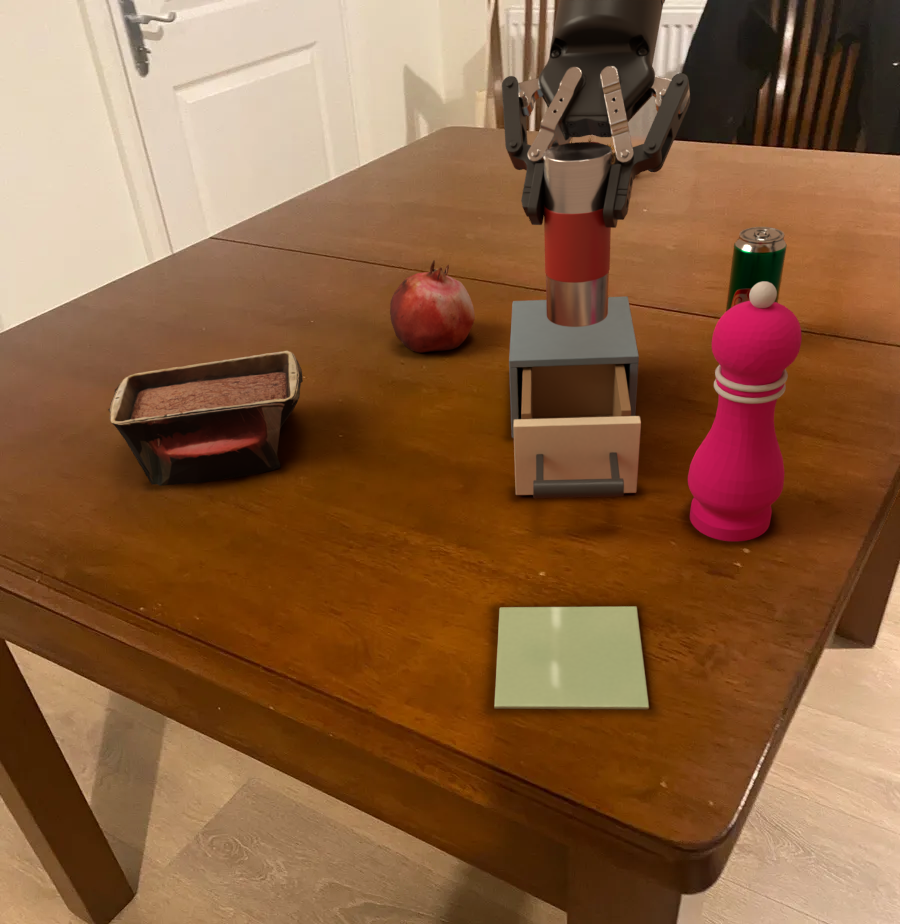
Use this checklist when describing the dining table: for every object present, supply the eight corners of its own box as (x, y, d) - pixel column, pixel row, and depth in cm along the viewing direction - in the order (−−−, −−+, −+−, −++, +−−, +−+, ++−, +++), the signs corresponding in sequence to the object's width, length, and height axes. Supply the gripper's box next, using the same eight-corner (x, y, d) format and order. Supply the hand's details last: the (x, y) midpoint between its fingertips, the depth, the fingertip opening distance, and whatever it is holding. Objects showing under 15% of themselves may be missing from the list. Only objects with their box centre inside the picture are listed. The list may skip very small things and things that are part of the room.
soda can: (720, 357, 97) (735, 242, 90) (721, 336, 101) (735, 225, 93) (770, 358, 96) (789, 242, 88) (770, 338, 100) (787, 225, 92)
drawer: (641, 531, 73) (647, 459, 69) (514, 533, 74) (511, 462, 70) (626, 420, 87) (629, 354, 83) (518, 423, 88) (516, 358, 84)
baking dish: (163, 438, 97) (118, 356, 90) (325, 398, 95) (292, 311, 88) (142, 525, 86) (89, 439, 79) (323, 482, 85) (286, 390, 78)
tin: (607, 300, 74) (611, 139, 66) (610, 326, 70) (614, 158, 63) (546, 303, 75) (543, 144, 67) (546, 329, 71) (542, 163, 63)
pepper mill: (665, 527, 75) (688, 287, 62) (715, 489, 79) (746, 255, 66) (743, 562, 71) (785, 312, 58) (792, 520, 74) (842, 277, 62)
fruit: (377, 349, 105) (366, 262, 99) (441, 322, 109) (434, 237, 103) (427, 373, 99) (418, 282, 93) (492, 344, 104) (488, 256, 97)
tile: (636, 614, 67) (636, 605, 67) (648, 715, 60) (649, 706, 59) (499, 614, 68) (499, 606, 68) (494, 714, 61) (494, 706, 60)
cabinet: (633, 439, 86) (639, 356, 80) (511, 443, 87) (509, 360, 82) (623, 374, 96) (628, 295, 91) (514, 377, 97) (512, 300, 92)
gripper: (505, -37, 65) (463, 192, 65) (711, -49, 61) (668, 197, 60) (528, 34, 73) (490, 242, 72) (713, 28, 68) (675, 249, 67)
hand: (571, 220), depth 66 cm, fingers closed on tin, 5 cm apart
